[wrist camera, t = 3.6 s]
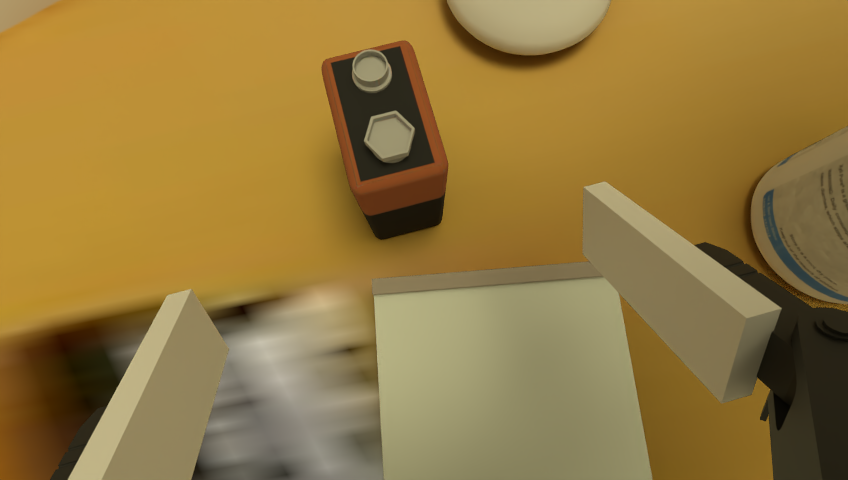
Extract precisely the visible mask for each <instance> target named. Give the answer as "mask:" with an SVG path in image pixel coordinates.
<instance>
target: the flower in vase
mask: <svg viewBox="0 0 848 480" xmlns="http://www.w3.org/2000/svg"><path fill="white" fill-rule="evenodd" d="M447 3H448V5H449V7H450V9H451V11H452V13H453V15H454V16H455V18H456V19H457V20H458V22H459V23H460V24H461V25H462V26H463V27H464V28H465V29H466V30H467V31H468V32H469V33H470V34H471V35H473V36H474V37H475V38H476V39H478V40H479V41H481V42H482V43H484V44H486V45H488V46H490V47H492V48H494V49H497V50H500V51H503V52H506V53H511V54H517V55H542V54H548V53H552V52H556V51H559V50H562V49H565V48H568V47H570V46H572V45H574V44H576V43H578V42H580V41H581V40H583V39H584V38H586V37H587V36H588V35H590V34H591V33H592V32H593V31H594V30H595V29H596V28H597V27H598V25H599V24H600V23H601V21H602V20H603V18H604V17H605V15H606V13H607V11H608V8H609V6H610V3H611V0H447Z"/></svg>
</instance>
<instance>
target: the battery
mask: <svg viewBox="0 0 848 480" xmlns="http://www.w3.org/2000/svg"><path fill="white" fill-rule="evenodd" d="M322 75H323V80H324V84H325V88H326V92H327V96H328V100H329V104H330V108H331V112H332V116H333V121H334V125H335V129H336V133H337V137H338V141H339V145H340V149H341V153H342V157H343V161H344V165H345V169H346V173H347V177H348V181H349V185H350V188H351V190H352V192H353V194H354V196H355V198H356V200H357V202H358V204H359V206H360V208H361V210H362V212H363V214H364V215H365V217H366V219H367V221H368V223H369V225H370V227H371V229H372V231H373V233H374V234H375V236H376V237H377V238H379V239H386V238H389V237H393V236H397V235H401V234H404V233H408V232H412V231H416V230H419V229H423V228H427V227H431V226H434V225H438V224H439V223H440V222H441V220H442V215H443V206H444V198H445V189H446V181H447V173H448V161H447V157H446V154H445V150H444V147H443V144H442V140H441V137H440V134H439V130H438V127H437V124H436V121H435V117H434V114H433V111H432V108H431V104H430V101H429V98H428V94H427V91H426V88H425V85H424V81H423V78H422V75H421V71H420V68H419V65H418V62H417V58H416V55H415V52H414V50H413V47H412V46H411V44H410V43H409V42H407V41H399V42H394V43H390V44H386V45H382V46H378V47H374V48H370V49H365V50H361V51H357V52H353V53H349V54H345V55H341V56H337V57H333V58H329V59H326V60H325V61H324V62H323V64H322Z"/></svg>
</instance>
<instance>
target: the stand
mask: <svg viewBox="0 0 848 480" xmlns="http://www.w3.org/2000/svg"><path fill="white" fill-rule="evenodd" d="M372 294H373V295H374V306H375V324H376V343H377V362H378V380H379V399H380V418H381V436H382V455H383V473H384V480H653V479H652V474H651V468H650V463H649V457H648V452H647V446H646V441H645V435H644V430H643V424H642V419H641V413H640V408H639V402H638V397H637V391H636V386H635V380H634V375H633V369H632V363H631V358H630V352H629V347H628V341H627V336H626V330H625V325H624V319H623V314H622V308H621V303H620V297H619V293H618V292H617V290H616V289H615V288H614V287H613V286H612V285H611V284H610V283H609V282H608V281H607V280H606V279H605V278H604V276H603V275H602V274H601V273H600V272H599V271H598V270H597V269H596V268H595V267H594V266H593V265H592V264H591V262H590V261H589V262H576V263H564V264H552V265H539V266H527V267H514V268H502V269H490V270H477V271H465V272H452V273H440V274H428V275H415V276H403V277H390V278H378V279H372Z"/></svg>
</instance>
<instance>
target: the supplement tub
mask: <svg viewBox="0 0 848 480" xmlns="http://www.w3.org/2000/svg"><path fill="white" fill-rule="evenodd" d="M751 227H752V232H753V236H754V239H755V242H756V244H757V246H758V248H759V251H760V252H761V254H762V256H763V257H764V259H765V260H766V262H767V263H768V264H769V266H770V267H771V268H772V269H773V270H774V271H775V272H776V273H777V274H778V275H779V276H780V277H781V278H782V279H783V280H785V281H786V282H787V283H788V284H790V285H791V286H793V287H794V288H796V289H797V290H799V291H801V292H803V293H805V294H807V295H809V296H812V297H814V298H817V299H820V300H823V301H827V302H832V303H839V304H848V126H847V127H845V128H843V129H841V130H839V131H837V132H835V133H833V134H832V135H830V136H828V137H826V138H824V139H822V140H820V141H818V142H816V143H814V144H812V145H811V146H809V147H807V148H805V149H803V150H801V151H799V152H797V153H795V154H793V155H791V156H790V157H788V158H786V159H784V160H782V161H781V162H779V163H777V164H776V165H775V166H773V167H772V168H771V169H770V170H769V171H768V172H767V173H766V174H765V175H764V176H763V178H762V179H761V180H760V182H759V183H758V185H757V187H756V189H755V192H754V195H753V198H752V203H751Z"/></svg>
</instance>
